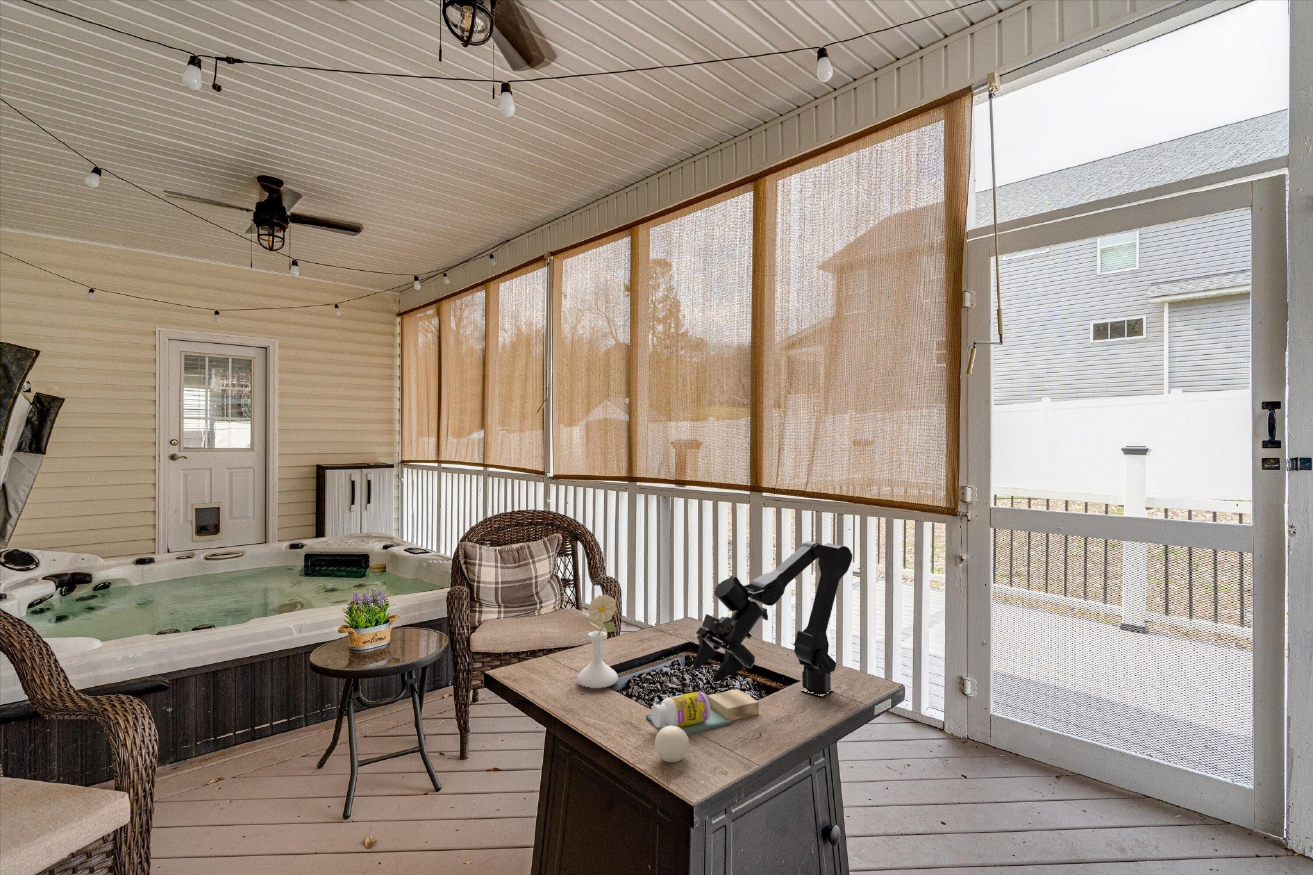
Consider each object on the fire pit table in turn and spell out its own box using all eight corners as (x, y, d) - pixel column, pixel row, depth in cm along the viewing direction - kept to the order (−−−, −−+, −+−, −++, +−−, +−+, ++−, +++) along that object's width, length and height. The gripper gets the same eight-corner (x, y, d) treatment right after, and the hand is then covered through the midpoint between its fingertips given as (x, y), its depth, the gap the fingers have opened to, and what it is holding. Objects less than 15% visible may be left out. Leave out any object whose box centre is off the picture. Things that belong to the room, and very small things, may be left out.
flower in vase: (567, 685, 168) (567, 593, 168) (597, 673, 176) (597, 586, 177) (601, 697, 159) (600, 600, 160) (631, 684, 168) (630, 592, 169)
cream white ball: (696, 759, 127) (696, 726, 127) (672, 772, 122) (671, 738, 122) (673, 748, 132) (672, 716, 132) (648, 760, 127) (648, 727, 127)
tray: (703, 705, 154) (703, 702, 154) (730, 724, 143) (730, 720, 143) (646, 718, 147) (646, 714, 147) (669, 738, 136) (669, 735, 136)
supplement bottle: (714, 720, 141) (664, 732, 135) (700, 721, 146) (652, 732, 140) (708, 689, 143) (658, 700, 137) (695, 691, 149) (647, 701, 143)
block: (737, 700, 157) (737, 688, 157) (758, 714, 149) (758, 701, 149) (707, 707, 153) (707, 695, 153) (727, 721, 144) (727, 708, 145)
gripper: (702, 594, 158) (664, 643, 153) (743, 610, 142) (703, 666, 136) (728, 621, 162) (692, 670, 156) (771, 640, 145) (733, 696, 140)
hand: (703, 674), depth 147 cm, fingers open, 9 cm apart
